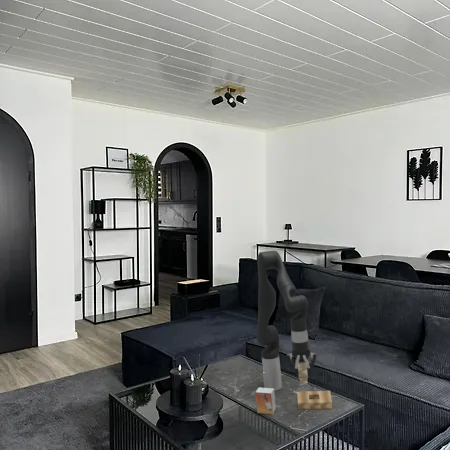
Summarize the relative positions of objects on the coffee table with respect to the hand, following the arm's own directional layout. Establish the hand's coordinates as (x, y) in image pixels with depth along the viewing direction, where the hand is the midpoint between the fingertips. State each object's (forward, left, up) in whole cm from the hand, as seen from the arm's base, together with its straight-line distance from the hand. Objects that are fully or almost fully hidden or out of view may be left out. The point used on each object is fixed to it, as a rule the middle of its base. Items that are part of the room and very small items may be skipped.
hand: (303, 375), depth 198 cm
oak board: (+4, +11, -19) cm, 23 cm away
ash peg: (0, 0, -3) cm, 3 cm away
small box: (-19, +4, -19) cm, 27 cm away
